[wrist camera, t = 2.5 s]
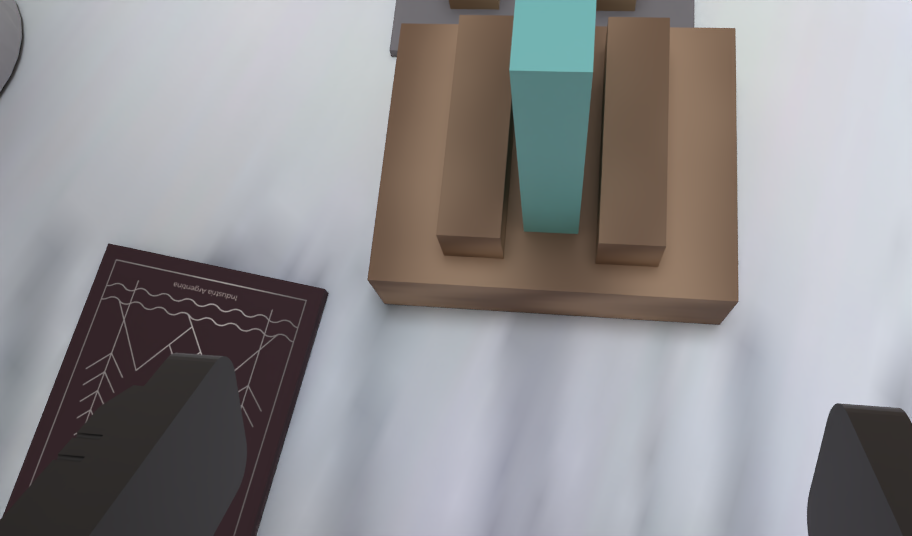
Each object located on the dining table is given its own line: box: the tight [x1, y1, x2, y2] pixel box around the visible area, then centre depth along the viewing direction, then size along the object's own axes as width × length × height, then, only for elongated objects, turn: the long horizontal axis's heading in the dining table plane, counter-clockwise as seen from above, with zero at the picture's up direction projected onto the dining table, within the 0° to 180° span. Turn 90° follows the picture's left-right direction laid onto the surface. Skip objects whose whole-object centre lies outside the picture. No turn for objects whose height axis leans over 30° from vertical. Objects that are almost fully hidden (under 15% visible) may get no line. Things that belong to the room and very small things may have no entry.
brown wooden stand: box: [368, 15, 738, 325], centre depth 28 cm, size 12×10×5 cm
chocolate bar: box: [3, 244, 328, 536], centre depth 29 cm, size 9×1×18 cm
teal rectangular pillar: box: [509, 0, 596, 234], centre depth 23 cm, size 2×6×10 cm, turn 174°
